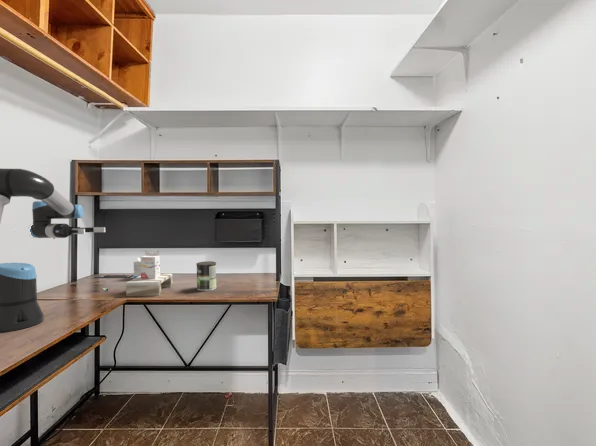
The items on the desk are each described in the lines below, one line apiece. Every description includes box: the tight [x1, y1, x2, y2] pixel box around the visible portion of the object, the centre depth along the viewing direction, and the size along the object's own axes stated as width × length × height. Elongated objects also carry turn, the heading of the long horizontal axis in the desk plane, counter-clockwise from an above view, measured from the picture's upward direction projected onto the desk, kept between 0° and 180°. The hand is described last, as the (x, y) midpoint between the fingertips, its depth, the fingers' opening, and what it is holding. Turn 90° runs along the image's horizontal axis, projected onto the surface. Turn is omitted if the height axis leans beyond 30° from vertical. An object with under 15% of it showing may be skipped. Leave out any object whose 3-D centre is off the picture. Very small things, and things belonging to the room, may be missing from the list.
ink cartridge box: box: [139, 249, 161, 279], centre depth 167 cm, size 9×5×15 cm, turn 83°
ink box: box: [133, 257, 141, 279], centre depth 196 cm, size 9×8×13 cm
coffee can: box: [196, 260, 217, 292], centre depth 171 cm, size 10×10×14 cm
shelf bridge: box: [125, 273, 174, 297], centre depth 167 cm, size 20×16×7 cm
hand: (95, 230), depth 162 cm, fingers open, 13 cm apart
